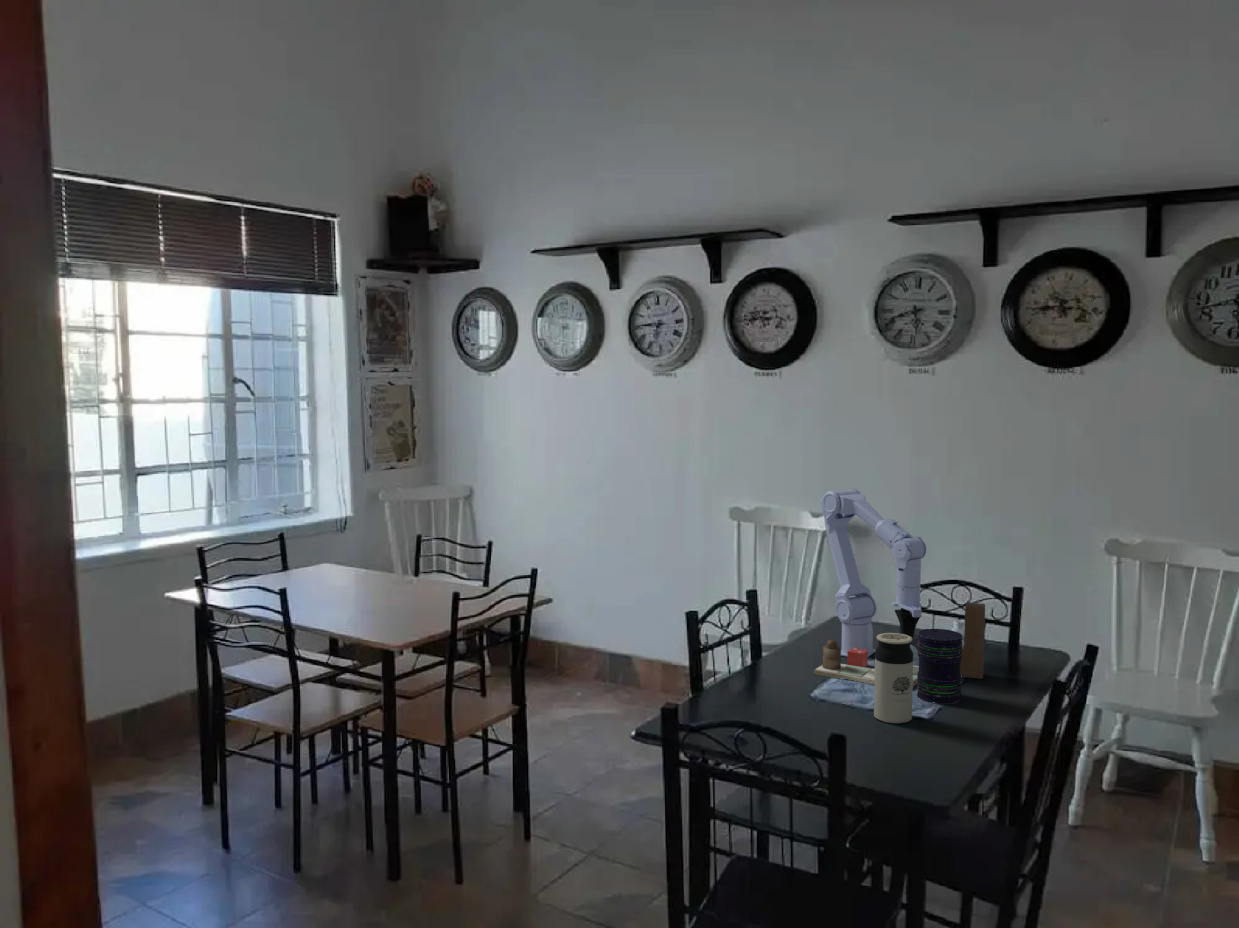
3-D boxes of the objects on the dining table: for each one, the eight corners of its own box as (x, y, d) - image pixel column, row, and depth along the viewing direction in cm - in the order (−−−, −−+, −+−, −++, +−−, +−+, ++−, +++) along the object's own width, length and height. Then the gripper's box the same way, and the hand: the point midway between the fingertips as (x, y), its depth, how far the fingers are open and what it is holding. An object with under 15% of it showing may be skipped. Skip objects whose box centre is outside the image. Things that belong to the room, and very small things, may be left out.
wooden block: (944, 675, 245) (945, 604, 244) (945, 670, 250) (947, 600, 248) (982, 679, 242) (984, 607, 240) (983, 674, 246) (985, 603, 245)
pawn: (826, 663, 252) (826, 636, 252) (843, 666, 250) (843, 638, 249) (820, 668, 249) (820, 640, 248) (837, 670, 246) (837, 643, 246)
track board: (826, 665, 255) (826, 660, 255) (920, 680, 242) (920, 675, 242) (813, 674, 247) (813, 669, 247) (910, 690, 234) (910, 685, 234)
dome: (897, 659, 254) (897, 638, 254) (924, 663, 250) (925, 642, 250) (888, 666, 248) (889, 645, 248) (916, 670, 244) (917, 649, 244)
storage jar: (968, 703, 225) (970, 639, 224) (926, 705, 224) (927, 640, 223) (950, 689, 235) (952, 628, 233) (910, 691, 234) (911, 629, 233)
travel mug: (870, 711, 220) (871, 632, 219) (906, 711, 220) (908, 632, 218) (878, 724, 212) (880, 642, 211) (916, 724, 212) (917, 642, 210)
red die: (852, 662, 257) (852, 647, 256) (867, 665, 255) (868, 649, 254) (847, 666, 253) (847, 651, 253) (862, 669, 251) (862, 653, 251)
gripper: (884, 579, 254) (883, 631, 256) (901, 592, 240) (900, 646, 241) (911, 579, 255) (910, 631, 256) (930, 591, 240) (929, 646, 241)
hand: (907, 638), depth 249 cm, fingers closed
